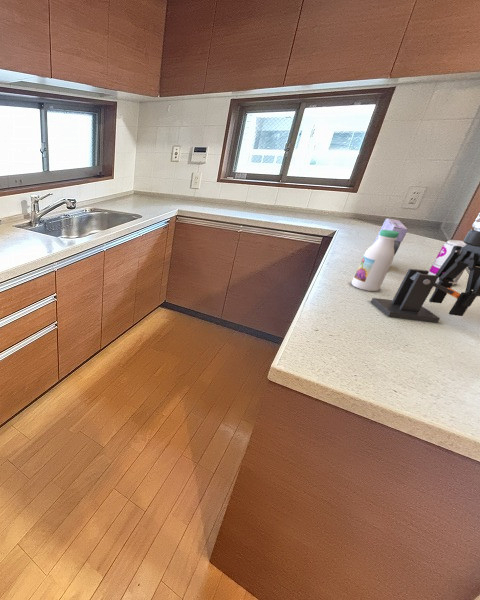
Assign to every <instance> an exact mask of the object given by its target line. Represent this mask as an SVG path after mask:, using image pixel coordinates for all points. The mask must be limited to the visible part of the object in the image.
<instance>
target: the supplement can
mask: <svg viewBox="0 0 480 600" xmlns="http://www.w3.org/2000/svg"><path fill="white" fill-rule="evenodd" d="M465 245H466V243H464V242H463V240H459V239H448V240H447V241H446V242H444V243H443V245H442V246H441V249H440V250H439V252H438V254H437V256H436V258H435V259H434V261H433V263H432V265H431V267H430V268H429V270H428V271H429V272H428V275H436V273H437V272H438V270H439V269H440V268H441V266H442V265H443V263H444V262H445V261H446V259H447V258H448V256H449V255H450V254H451V251H452V249H453V247H454V246H465ZM466 269H467V267H466V268H465V269H464V270H463V271H462V272H461V273H460V274H459V275H458V276H457V277H455V278H454V279H453V280H454V282H449V283H453V285H456V284H458V283H459V280H460V279H461V277H462V275H463V274H464V273H465V271H466ZM443 273H445V272H443ZM435 283H437V284H438V283H439V277H438V279H437V280H436V282H435Z"/></svg>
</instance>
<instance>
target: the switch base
mask: <svg viewBox="0 0 480 600" xmlns="http://www.w3.org/2000/svg"><path fill="white" fill-rule="evenodd" d="M416 272H419V273H422V274H417V276H416V278H415V280H412V279H410V278H411V277H412V276H413V275H414V274H415V273H416ZM428 272H429V270H427V269H416V268H408V270H406V273H405V274H404V277H403V279H402V281H401V283H400V285H399V287H398V289H397V290H396V293H395V295H394V296H393V298H392V299H386V298H378V297H372V298H371V301H370V303H371V304H373V305H374V306H375V307H376V308H378V309H379V311H381V312H382V313H383V314H384V315H386V316H387V317H390V318H396V319H405V320H413V321H418V322H419V321H421V322H428V323H435V324H437V323H439V321H441V320H440V319H441V318H440V317H439V316H437V315H436V314H435V313H433V312H432V311H430V310H428V309H427V308H425V307H424V306H423V305H424V303H425V302H426V300H427V298H428V296H429V295H430V293H431V291H432V290H433V288H434V287H433V286H434V284H435V282H436V280H437V279H438V276H437V275H428Z"/></svg>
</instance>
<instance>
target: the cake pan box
mask: <svg viewBox="0 0 480 600" xmlns="http://www.w3.org/2000/svg"><path fill="white" fill-rule="evenodd" d="M381 230H391V231H396V232H399V235H398V237H397V239H396V240H395V241H394V257H395V255H396V254H397V252H398V250H399V248H400V247H401V244H402V242H403V241H404V239H405V237H406V235H407V233H408V231H409V229H408V228H407V227H406V225H404V224H403V223H402V222H401V221H400V220H399V219H393V218H389V217H388V218H387V217H386V218H385V219H384V222H383V224H382V226H381V227H380V229H379V232H378V234H377V235H376V238H375V239H374V241H373V244H374V243H375V242H376V241H377V240H378V238H379V234H380V232H381Z"/></svg>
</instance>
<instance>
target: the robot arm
mask: <svg viewBox="0 0 480 600" xmlns="http://www.w3.org/2000/svg"><path fill="white" fill-rule="evenodd" d="M471 227H472V228H471V229H469V230H468V231H467V233H466V235H465V237H464V239H463V240H462V241H463V242H464V243H466V245H465V246H454V247H453V249H452V251H451V254H450V255H449V256H448V258H447V259H446V261H445V262H444V263H443V265H442V266H441V268H440V269H439V270H438V272H437V273H436V275H437V276H438V277H439V283H437V284H439V285H441V286H443V287H446V288H451V289H452V286H454V284H453V283H449V282H454V280H453V279H454V278H455V277H457V276H458V275H459V274H460V273H461V272H462V271H463V270H464V269H465V268H466V269H468V270H469V273H468V278H467V281H466V286H465V291H461V292H460V296H459V297H458V299H457V298H456V300H455V302H454V303H453V305H452V306H451V308H450V310H449V312H448V314H449V315H450V316H457V317H463V316H464V314H465V313H466V311H468V308H470V307H471V306H472V304H473V302H474V301H475V299H476V298H478V297H480V212H479V213H478V215H477V217H476V218H475V220H474V222H473V223H472V225H471ZM466 269H465V270H466ZM465 270H464V271H465ZM443 272H445V273H443ZM447 295H448V293H446V292H444V291H442V290H440V289H438V288H436V287H434V291H433V293H432V295H431V296H430V298H429V300H428V302H429V303H433V304H442V303H443V302H444V300H445V298H446V296H447Z"/></svg>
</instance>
